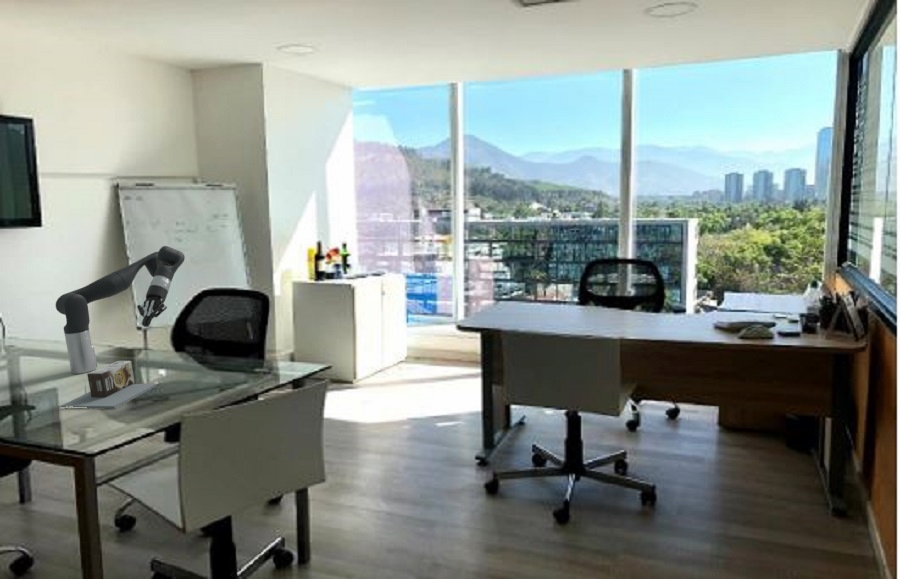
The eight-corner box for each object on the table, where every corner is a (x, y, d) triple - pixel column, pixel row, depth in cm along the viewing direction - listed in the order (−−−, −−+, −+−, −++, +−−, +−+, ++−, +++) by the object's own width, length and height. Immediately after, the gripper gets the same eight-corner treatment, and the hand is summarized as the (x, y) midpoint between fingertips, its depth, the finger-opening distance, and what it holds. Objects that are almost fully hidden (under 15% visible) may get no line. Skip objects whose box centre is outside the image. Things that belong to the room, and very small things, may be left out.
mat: (105, 386, 264) (105, 384, 264) (156, 386, 260) (156, 383, 259) (59, 409, 241) (59, 406, 241) (115, 408, 236) (114, 406, 236)
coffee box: (135, 383, 262) (105, 398, 247) (121, 383, 263) (90, 398, 248) (131, 360, 260) (101, 374, 245) (117, 360, 262) (86, 374, 246)
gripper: (177, 293, 283) (164, 329, 273) (150, 295, 286) (136, 331, 277) (167, 283, 277) (153, 320, 267) (139, 285, 280) (124, 321, 271)
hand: (144, 325), depth 272 cm, fingers closed
